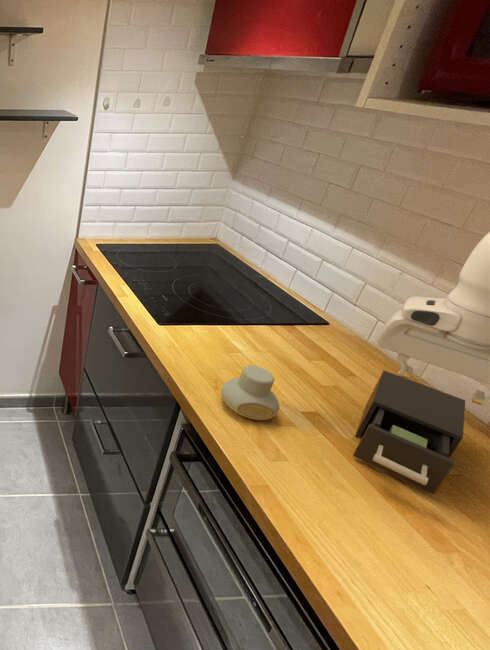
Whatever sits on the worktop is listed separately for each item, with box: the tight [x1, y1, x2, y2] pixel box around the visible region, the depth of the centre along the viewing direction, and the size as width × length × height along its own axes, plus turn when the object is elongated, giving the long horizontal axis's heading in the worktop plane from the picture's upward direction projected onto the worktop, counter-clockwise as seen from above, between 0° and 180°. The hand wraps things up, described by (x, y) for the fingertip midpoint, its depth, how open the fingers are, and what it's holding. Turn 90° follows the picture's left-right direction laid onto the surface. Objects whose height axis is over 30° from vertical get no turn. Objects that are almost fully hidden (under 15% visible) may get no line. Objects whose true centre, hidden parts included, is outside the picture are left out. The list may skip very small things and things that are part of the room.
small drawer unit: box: [354, 369, 466, 459], centre depth 92 cm, size 15×13×10 cm
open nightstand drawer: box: [352, 407, 455, 496], centre depth 85 cm, size 18×11×8 cm, turn 132°
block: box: [389, 425, 428, 448], centre depth 85 cm, size 5×5×5 cm
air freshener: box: [221, 365, 280, 421], centre depth 98 cm, size 11×8×10 cm
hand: (439, 388), depth 79 cm, fingers open, 8 cm apart
